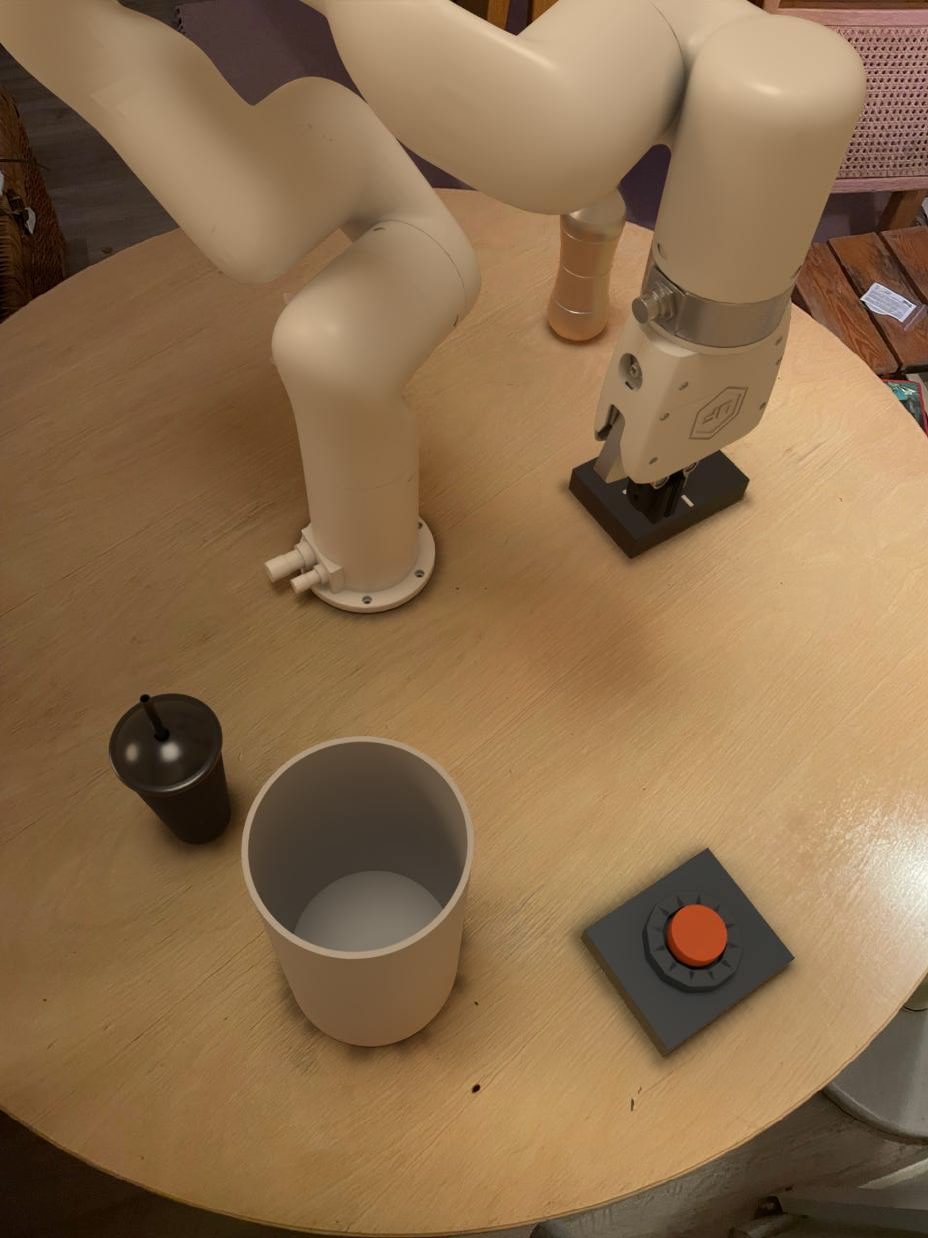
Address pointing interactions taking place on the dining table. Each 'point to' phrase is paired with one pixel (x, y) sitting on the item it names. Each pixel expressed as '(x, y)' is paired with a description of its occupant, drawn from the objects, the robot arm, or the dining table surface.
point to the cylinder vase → (362, 884)
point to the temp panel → (634, 533)
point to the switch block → (662, 984)
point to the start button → (696, 935)
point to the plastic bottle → (586, 267)
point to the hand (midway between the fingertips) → (649, 504)
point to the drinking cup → (174, 763)
